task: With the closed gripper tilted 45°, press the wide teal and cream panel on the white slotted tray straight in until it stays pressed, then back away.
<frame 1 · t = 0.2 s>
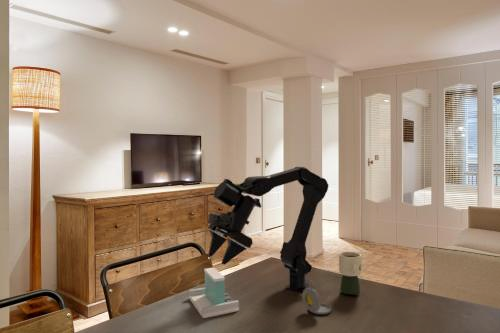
hand: (216, 259, 108), 15 cm above the table, tool tilted 35°, fingers open, 9 cm apart
teal and cream panel: (214, 286, 112), point 6 cm above the table, slide at 0.0 cm
white slotted tray: (214, 304, 112), on the table
pocket watch: (316, 312, 106), on the table
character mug: (350, 293, 119), on the table
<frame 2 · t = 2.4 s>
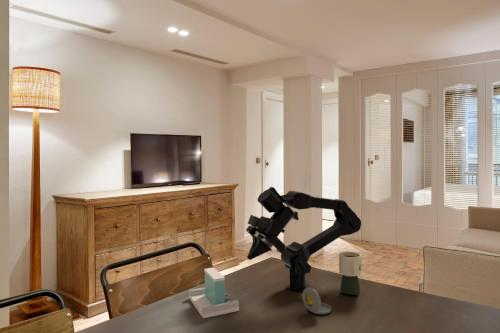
hand: (248, 259, 116), 13 cm above the table, tool tilted 45°, fingers closed
nothing on the table moved.
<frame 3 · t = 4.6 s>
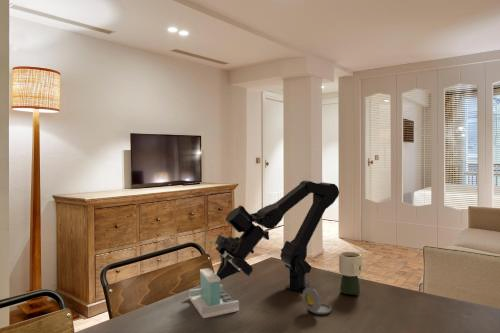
hand: (215, 280, 112), 7 cm above the table, tool tilted 45°, fingers closed, pressing on teal and cream panel
teal and cream panel: (209, 287, 111), point 6 cm above the table, slide at 1.5 cm, touching gripper
everything else where it was.
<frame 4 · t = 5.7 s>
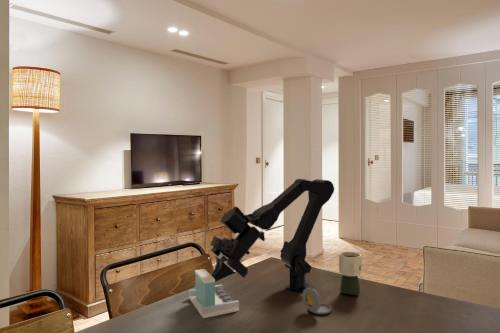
hand: (210, 282, 111), 7 cm above the table, tool tilted 45°, fingers closed
teal and cream panel: (204, 288, 111), point 6 cm above the table, slide at 3.1 cm
everything else where it was.
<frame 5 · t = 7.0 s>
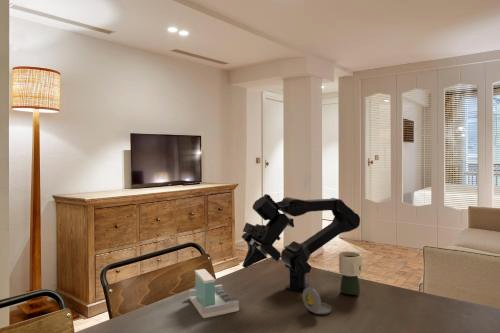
hand: (243, 267, 116), 10 cm above the table, tool tilted 45°, fingers closed
nothing on the table moved.
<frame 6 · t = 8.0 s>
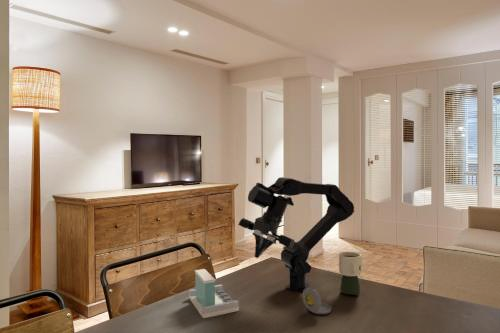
hand: (256, 257, 117), 13 cm above the table, tool tilted 25°, fingers closed
nothing on the table moved.
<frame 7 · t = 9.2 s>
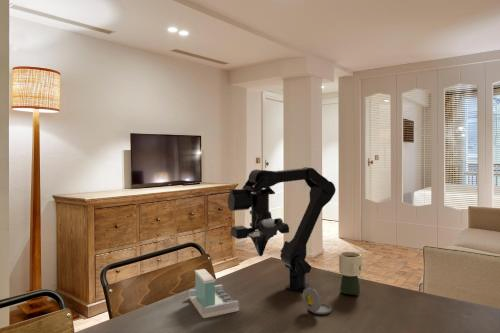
hand: (260, 255, 118), 13 cm above the table, tool pointing down, fingers closed
nothing on the table moved.
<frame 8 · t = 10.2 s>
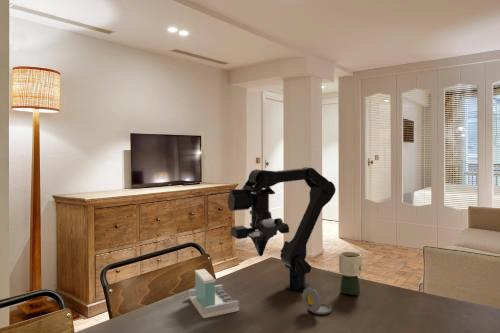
hand: (260, 255, 118), 13 cm above the table, tool pointing down, fingers closed
nothing on the table moved.
at the end: teal and cream panel slide at 3.1 cm; pocket watch moved 0.3 cm from its start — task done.
